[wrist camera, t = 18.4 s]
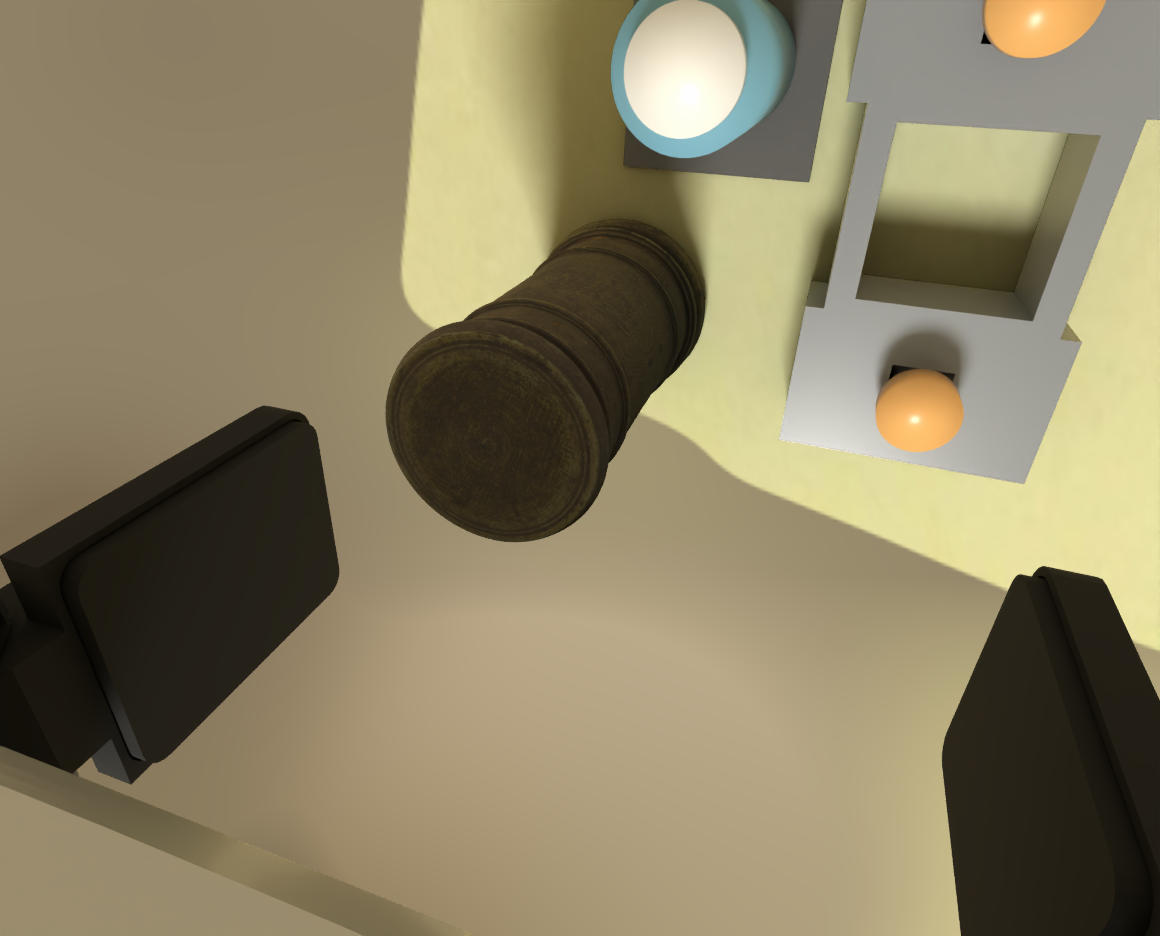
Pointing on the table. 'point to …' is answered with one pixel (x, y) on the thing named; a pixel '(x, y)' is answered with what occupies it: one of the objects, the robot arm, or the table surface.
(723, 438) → the table surface
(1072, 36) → the plunger
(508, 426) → the container
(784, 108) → the mat
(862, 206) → the housing
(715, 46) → the cartridge
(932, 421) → the orange mushroom peg
